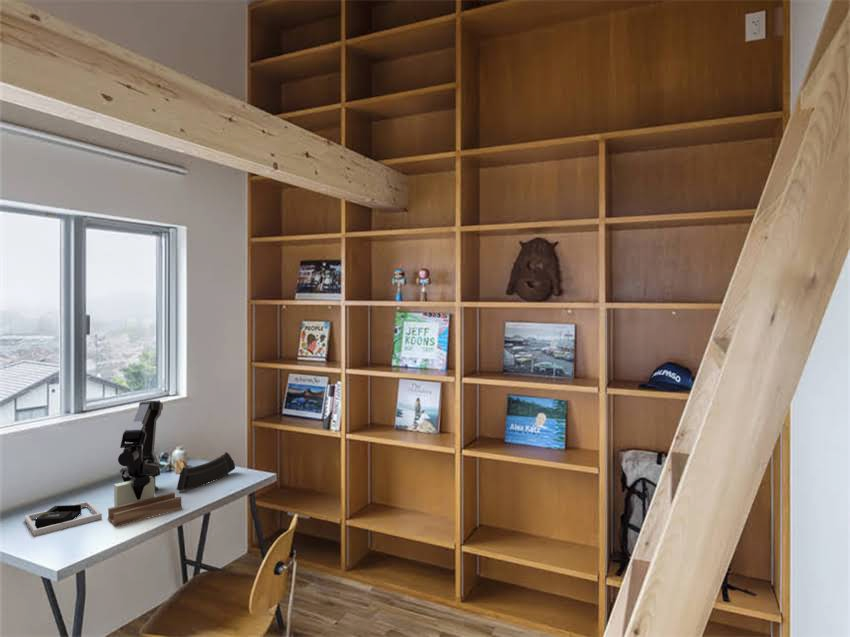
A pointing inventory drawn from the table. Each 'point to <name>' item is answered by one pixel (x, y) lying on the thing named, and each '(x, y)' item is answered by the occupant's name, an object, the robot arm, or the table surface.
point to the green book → (132, 492)
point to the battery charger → (58, 515)
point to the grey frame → (62, 525)
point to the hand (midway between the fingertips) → (134, 496)
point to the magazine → (205, 472)
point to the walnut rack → (143, 509)
